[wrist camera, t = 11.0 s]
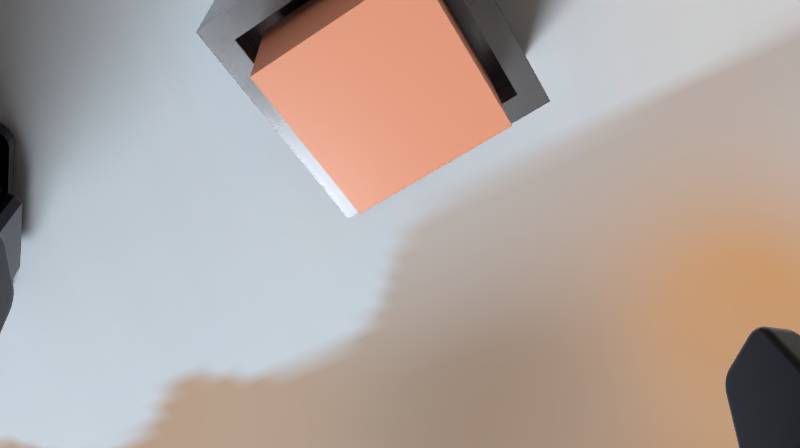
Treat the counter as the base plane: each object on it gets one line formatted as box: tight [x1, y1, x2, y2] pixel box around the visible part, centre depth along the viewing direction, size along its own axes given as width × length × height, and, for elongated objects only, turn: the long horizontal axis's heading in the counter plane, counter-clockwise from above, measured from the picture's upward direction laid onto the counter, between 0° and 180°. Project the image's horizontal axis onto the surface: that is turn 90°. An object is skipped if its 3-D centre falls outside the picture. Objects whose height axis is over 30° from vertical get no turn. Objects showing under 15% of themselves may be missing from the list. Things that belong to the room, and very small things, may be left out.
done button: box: [250, 0, 512, 214], centre depth 16 cm, size 4×4×3 cm
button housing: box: [196, 0, 550, 218], centre depth 18 cm, size 6×6×3 cm
